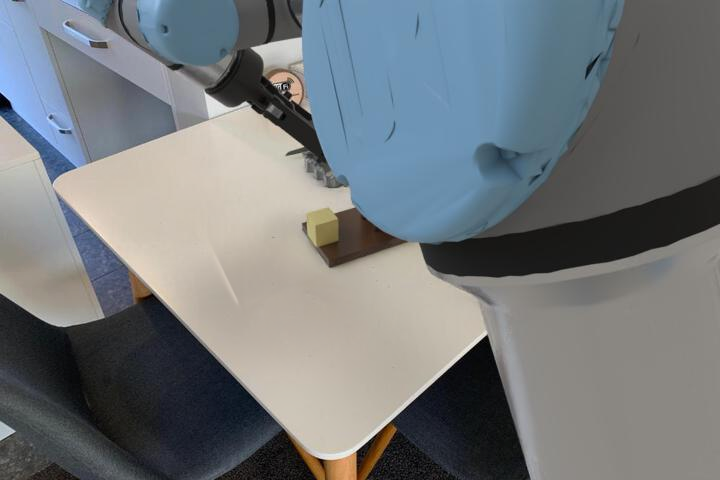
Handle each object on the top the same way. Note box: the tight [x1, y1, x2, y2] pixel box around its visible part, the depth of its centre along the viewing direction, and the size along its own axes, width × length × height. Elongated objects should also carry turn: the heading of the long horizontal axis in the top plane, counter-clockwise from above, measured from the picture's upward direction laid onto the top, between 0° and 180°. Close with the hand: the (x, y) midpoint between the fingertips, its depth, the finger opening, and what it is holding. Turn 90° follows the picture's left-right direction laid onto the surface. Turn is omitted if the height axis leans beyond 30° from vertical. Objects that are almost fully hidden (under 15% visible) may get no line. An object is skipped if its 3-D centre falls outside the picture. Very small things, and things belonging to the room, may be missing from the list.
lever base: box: [301, 206, 408, 268], centre depth 85 cm, size 24×11×17 cm, turn 118°
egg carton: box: [300, 151, 340, 188], centre depth 103 cm, size 11×8×4 cm
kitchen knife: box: [284, 146, 309, 157], centre depth 111 cm, size 16×1×2 cm, turn 120°
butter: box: [305, 206, 338, 249], centre depth 84 cm, size 4×4×4 cm
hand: (336, 149), depth 77 cm, fingers open, 13 cm apart
